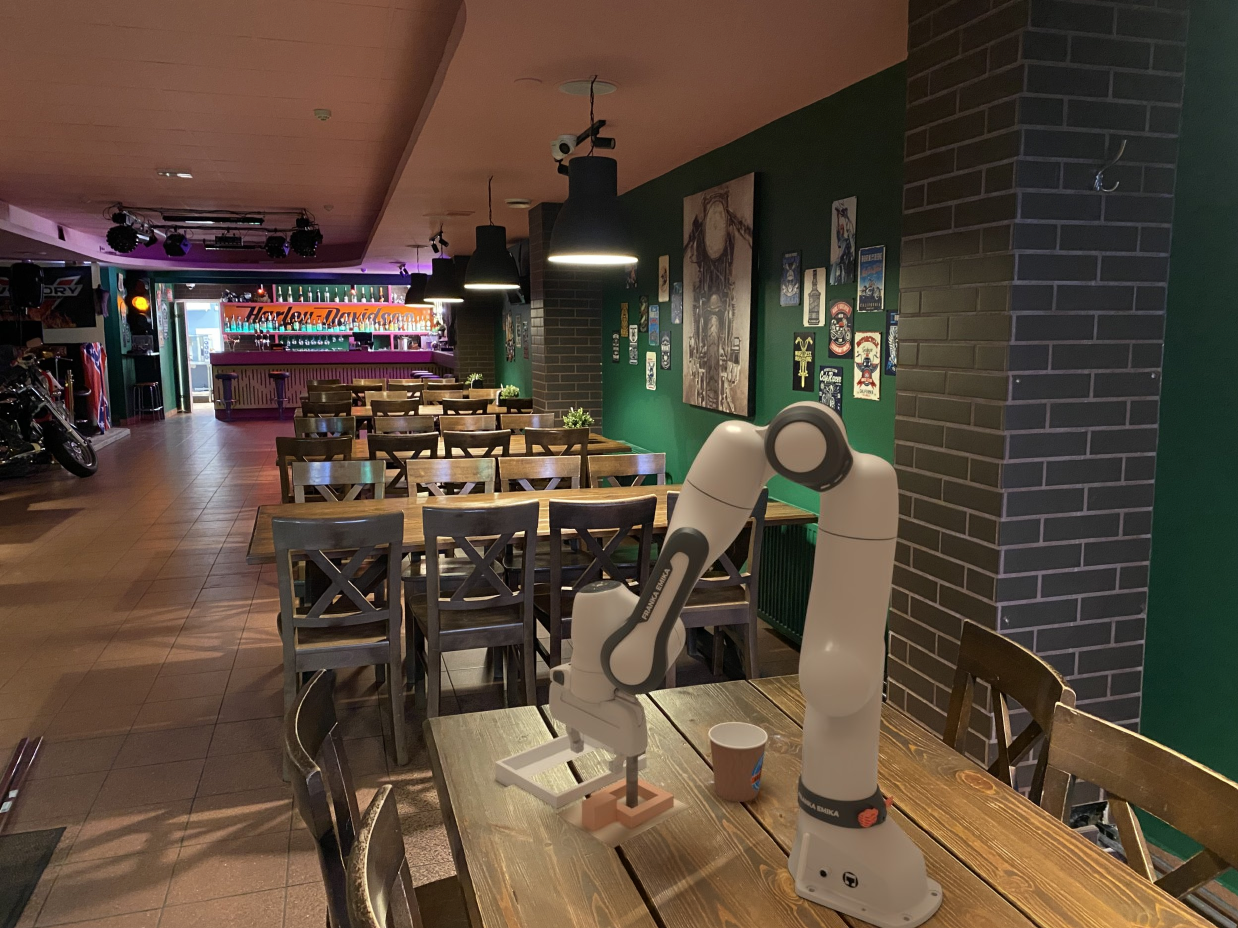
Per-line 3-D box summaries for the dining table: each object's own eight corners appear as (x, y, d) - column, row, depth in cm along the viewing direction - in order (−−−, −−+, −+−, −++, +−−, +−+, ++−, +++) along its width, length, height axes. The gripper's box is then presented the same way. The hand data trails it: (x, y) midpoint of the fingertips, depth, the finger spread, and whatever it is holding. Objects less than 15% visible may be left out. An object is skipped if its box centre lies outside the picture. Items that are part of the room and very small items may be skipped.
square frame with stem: (673, 806, 150) (673, 784, 150) (609, 839, 140) (609, 816, 140) (632, 785, 157) (632, 763, 157) (568, 815, 147) (567, 793, 147)
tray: (646, 774, 165) (646, 756, 164) (556, 816, 150) (556, 797, 149) (583, 743, 177) (583, 727, 177) (495, 779, 162) (495, 761, 162)
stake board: (690, 814, 150) (691, 743, 149) (613, 856, 138) (613, 779, 136) (632, 785, 160) (632, 718, 159) (555, 821, 148) (555, 749, 146)
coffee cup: (765, 816, 150) (766, 749, 148) (704, 810, 152) (705, 744, 150) (767, 787, 160) (768, 724, 158) (710, 781, 162) (711, 719, 160)
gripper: (658, 694, 137) (655, 778, 139) (571, 658, 152) (570, 734, 153) (628, 705, 133) (626, 792, 135) (543, 667, 147) (542, 745, 149)
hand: (596, 761), depth 144 cm, fingers open, 8 cm apart
